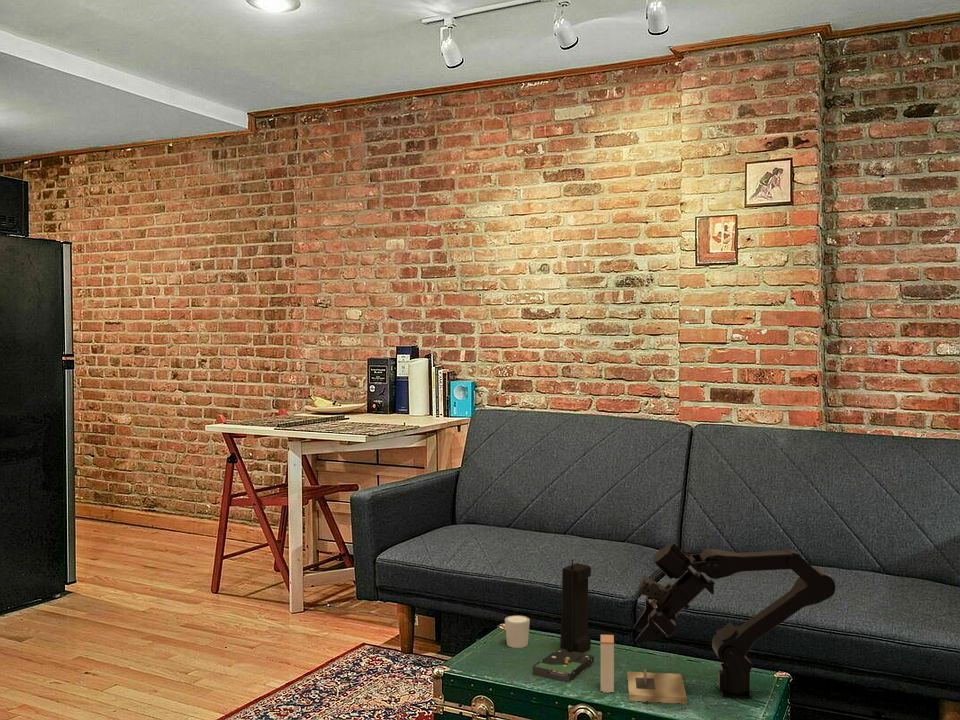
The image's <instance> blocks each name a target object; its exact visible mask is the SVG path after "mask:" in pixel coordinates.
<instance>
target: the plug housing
mask: <svg viewBox="0 0 960 720" xmlns="http://www.w3.org/2000/svg"><path fill="white" fill-rule="evenodd" d="M614 636H615V635H614V634H600V692H601V691H603V692H602V693H610V692H615V640H614V639H615V638H614Z"/></svg>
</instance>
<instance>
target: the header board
mask: <svg viewBox="0 0 960 720" xmlns="http://www.w3.org/2000/svg"><path fill="white" fill-rule="evenodd" d="M626 673H627V675H626V677H627V679H626V680H628V681H627V688H628V689H627V691H629V692H628V700H629V702H637V701H641V702H642V701H643V703H645V702H646V701H648V702H646V703H657V702H661V703H660V704H662V703H664V704H677V703H680V704H681V703H682V705H687V703H688V701H687V700H688V699H687V694H686V693H687V692H686V689H685V685H684V681H683V677H682V676H683V675H682V674H681V673H670V672H669V673H667V672H648V671H647V669H646V668H643V672H642V671H626ZM680 704H679V705H680Z"/></svg>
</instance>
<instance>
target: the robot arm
mask: <svg viewBox="0 0 960 720" xmlns="http://www.w3.org/2000/svg"><path fill="white" fill-rule="evenodd" d="M652 562H653V563H654V565H655V566H656V567H657V568H658V569H659V570H660V571H662V573H663V574H664V575H665V576H666V577H668V578H669V579H670V580H671V579H675V581H674V582H672V583H671V582H670V583H667V584H665V586H664V585H663V584H661V583H659V582H657V581H655V580H652V579H651V578H649V577H647V576H643V577H642V579H641V580H640V582H639V585H638V587H637V590H638V593H640V595H642V596H645V599H644V601H645V603H644V604H645V608H644V610H643V611H642V614H641V615H640V616H639V618H638V620H637V621H636V623H635V624H634V626H633V630H634V631H635V632H637V631H641V630H642V631H641V632H640V633H639V634H638V636H637V637H636V638H635V640H634V643H636V644H637V645H642V644H644V643H647V642H648V643H649V642H650V641H655V640H658V639H663V638H671V637H672V636H673V635H675V633H676V631H677V626H676V622H675V621H676V620H677V618H678V617H677V615H678V614H680V613H681V612H682V611H683V610H684V609H685V610H687V609H689V608H690V603H691V602H693V600H695V599H696V598H697V597H698V596H699V595H700V594H701V593H702V592H703V591H705V590H707V592H709V593H710V595H714V594H715V589H714V587H715V581H714V580H717V579H719V580H720V579H723V578H727V577H731V576H733V575H735V574H737V573H742V572H756V571H757V572H759V571H760V572H761V571H778V570H791V571H793V573H795V574H796V575H797V576H798V578H797V579H796V580H795V583H794V584H793V585H792V587H791V589H789V591H788V592H786V593H784V594H783V595H782V596H781V597H779V598H778V599H776V600H775V601H773V602H772V603H770V604H769V605H768V606H766V607H765V608H764V609H762V610H761V611H760V612H758V613H757V614H755V615H754V616H752V617H751V618H750V619H748V620H747V621H745V622H744V623H742V624H740V625H735V626H734V625H733V624H732V622H728V623H727V624H725V625H724V626H723V627H722V628H720V629H717V630H716V631H715V632H716V634H715V635H714V636H713V637H712V639H711V640H712V641H711V646H712V650H713V652H714V653H715V654H716V656H717V658H718V659H719V660H720V662H721V663H720V669H719V670H717V671H718V677H717V678H718V679H717V680H718V681H717V682H718V689H719V691H720V692H721V694H722V697H725V698H745V699H746V698H748V699H751V698H752V693H751V691H750V690H751V687H750V686H751V683H750V681H751V671H752V668H753V663H752V662H751V661H750V659H749V658H748V657H747V654H748V653H749V652H750V650H751V649H752V647H753V646H754V644H755V642H756V641H757V640H759V639H760V638H762V637H764V636H765V635H767V634H768V633H769V632H771V631H772V630H774V629H775V628H776V627H778V626H779V625H781V624H782V623H784V621H786V620H787V619H789V618H791V617H792V616H793V615H795V614H796V613H798V612H799V611H800V610H802V609H803V608H805V607H810V606H813V605H818V604H820V603H822V602H824V601H827V600H829V599H830V598H831V599H832V597H833V596H834V595H835V593H836V583H835V581H834V579H833V578H832V577H831V576H830V575H829V574H827V573H826V572H824V571H823V570H822V569H819V568H816V567H813V566H811V565H810V563H808V562H807V561H806V560H804V558H803V557H802V556H801V555H800V554H799V553H798V552H797V551H795V550H793V549H789V548H788V549H785V550H771V551H770V550H769V551H748V552H746V551H745V552H734V551H729V550H724V549H716V548H706V549H703V550H702V551H701V552H700V553H694V554H692V553H691V554H685V553H684V552H683V551H682V550H681V549H680V548H679V546H678V545H677V544H676V543H675V542H674V541H672V542H670V543H669V544H668V545H665V546H664V547H662V548H660V549H659V550H658V551H657V552H656V554H655V555H654V556H653V558H652ZM690 566H691V567H692V568H691V567H690ZM693 569H694V570H695V571H694V570H693ZM703 574H705V575H706V576H707V577H708V578H710V579H708V578H707V577H706V576H705V575H703Z"/></svg>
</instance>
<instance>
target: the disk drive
mask: <svg viewBox="0 0 960 720" xmlns="http://www.w3.org/2000/svg"><path fill="white" fill-rule="evenodd" d="M594 660H595V655H592V654H588V653H579V652H575V651H574V652H568V651H567V650H565V649H561V648H560V647H559V648H557V649H556V650H554V651H552V653H550V654H549V655H547V656H546V657H544V658H542V659H540V660H539V661H537V662H536V663H535V664H534V665H532V675H533V676H537V677H542V678H546V679H551V680H554V681H558V682H563V681H564V683H567V682H569V683H571V682H572V681H573V680H575V679H576V678H577V677H578V676H577V675H579V674H580V673H581V672H582V671H583V670H585V669H586V668H587V667H589V666H590V665H591V664H592V663H593V662H594V663H595V661H594ZM589 668H590V667H589ZM586 670H587V669H586ZM586 670H585V671H586ZM582 673H583V672H582ZM582 673H581V674H582ZM581 674H580V675H581ZM580 675H579V676H580ZM576 676H577V677H576ZM575 677H576V678H575ZM574 678H575V679H574ZM571 680H572V681H571ZM570 681H571V682H570Z"/></svg>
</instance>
